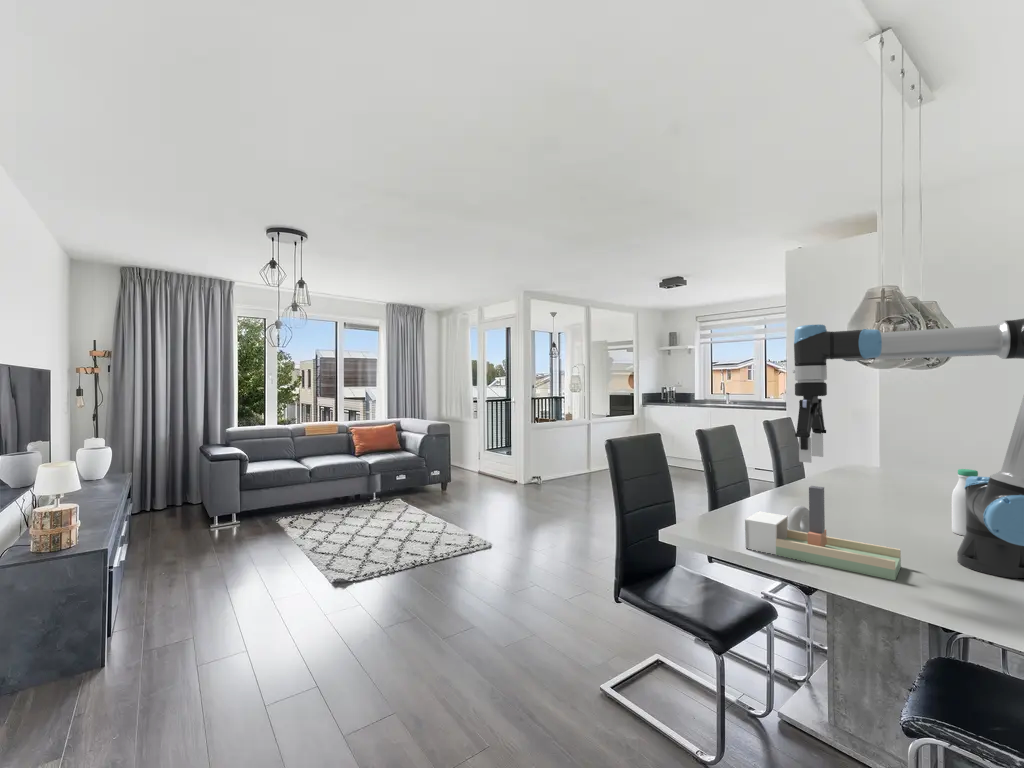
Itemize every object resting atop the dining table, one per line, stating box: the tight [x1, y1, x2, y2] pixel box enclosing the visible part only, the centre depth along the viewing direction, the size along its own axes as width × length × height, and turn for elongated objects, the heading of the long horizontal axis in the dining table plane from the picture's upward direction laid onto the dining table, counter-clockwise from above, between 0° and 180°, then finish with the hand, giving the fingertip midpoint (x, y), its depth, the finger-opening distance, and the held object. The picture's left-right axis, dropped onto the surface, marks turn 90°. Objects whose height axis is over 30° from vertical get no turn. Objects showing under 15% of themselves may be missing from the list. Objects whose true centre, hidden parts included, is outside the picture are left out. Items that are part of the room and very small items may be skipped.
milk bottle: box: [951, 468, 979, 537], centre depth 152 cm, size 8×8×20 cm
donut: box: [788, 505, 809, 533], centre depth 150 cm, size 10×3×10 cm, turn 122°
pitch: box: [744, 510, 902, 581], centre depth 133 cm, size 34×12×8 cm, turn 46°
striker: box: [808, 485, 827, 547], centre depth 134 cm, size 3×7×16 cm, turn 137°
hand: (811, 459), depth 134 cm, fingers open, 13 cm apart
